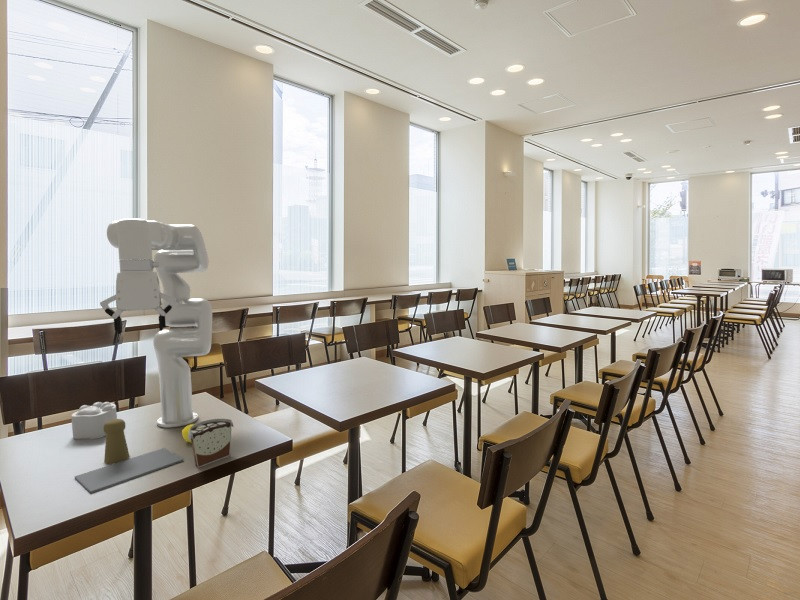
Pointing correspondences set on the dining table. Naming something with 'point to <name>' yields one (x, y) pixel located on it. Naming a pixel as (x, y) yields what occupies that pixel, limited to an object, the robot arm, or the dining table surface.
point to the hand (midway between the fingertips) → (141, 331)
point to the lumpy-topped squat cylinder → (92, 420)
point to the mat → (127, 469)
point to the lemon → (186, 432)
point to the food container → (210, 440)
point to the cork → (115, 441)
